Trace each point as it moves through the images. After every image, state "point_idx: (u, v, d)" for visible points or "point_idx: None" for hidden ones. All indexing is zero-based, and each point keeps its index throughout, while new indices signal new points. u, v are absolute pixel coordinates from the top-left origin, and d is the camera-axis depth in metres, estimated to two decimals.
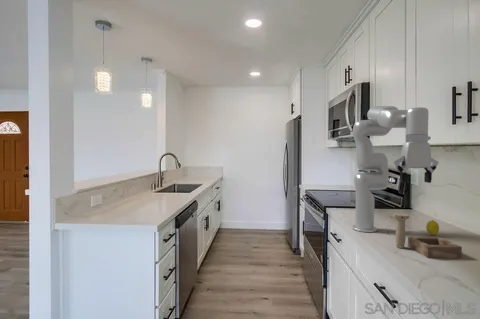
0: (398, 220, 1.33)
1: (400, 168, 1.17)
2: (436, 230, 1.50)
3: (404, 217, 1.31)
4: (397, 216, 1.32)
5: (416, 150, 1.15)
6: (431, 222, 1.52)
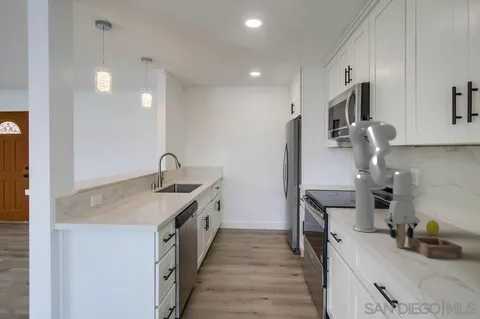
0: None
1: (390, 225, 1.33)
2: (436, 230, 1.50)
3: (404, 217, 1.31)
4: None
5: (402, 209, 1.31)
6: (431, 222, 1.52)
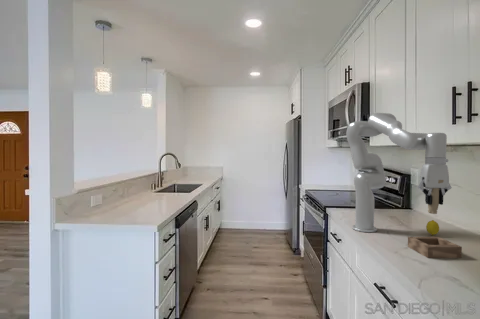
0: None
1: (426, 191, 1.27)
2: (436, 230, 1.50)
3: (439, 181, 1.25)
4: None
5: (435, 172, 1.25)
6: (431, 222, 1.52)
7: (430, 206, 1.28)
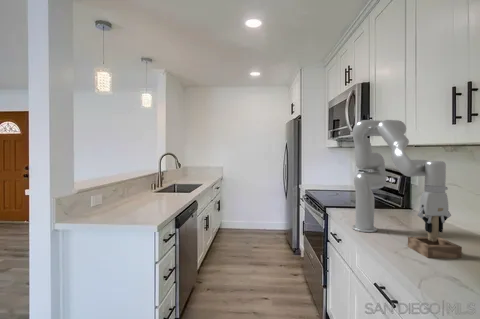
0: None
1: (425, 219, 1.27)
2: None
3: (439, 209, 1.25)
4: None
5: (435, 200, 1.25)
6: None
7: (430, 234, 1.28)
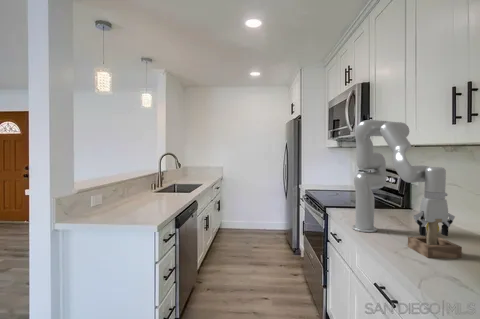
0: (430, 223, 1.27)
1: (419, 222, 1.27)
2: None
3: (437, 220, 1.25)
4: None
5: (435, 206, 1.25)
6: None
7: (429, 244, 1.28)
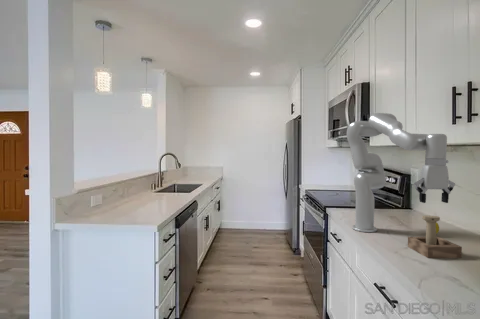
0: (428, 222, 1.29)
1: (420, 189, 1.27)
2: (436, 230, 1.50)
3: (435, 219, 1.27)
4: (427, 218, 1.28)
5: (435, 173, 1.25)
6: None
7: (428, 244, 1.29)
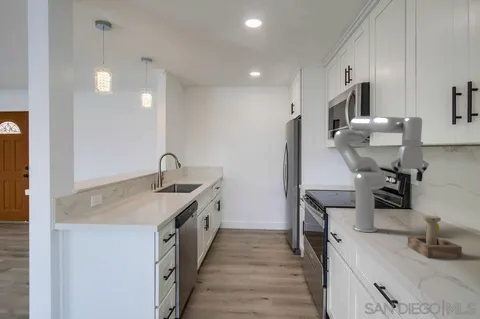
0: (429, 223, 1.28)
1: (396, 168, 1.37)
2: (436, 230, 1.50)
3: (435, 219, 1.27)
4: (428, 218, 1.28)
5: (410, 153, 1.35)
6: None
7: (428, 244, 1.28)
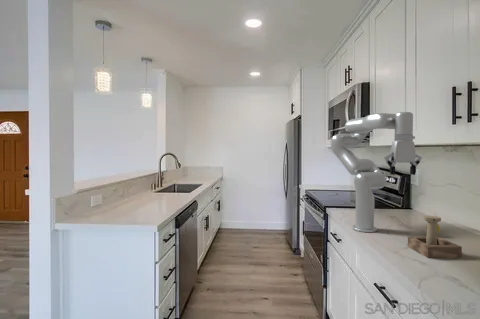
0: (429, 223, 1.28)
1: (389, 162, 1.40)
2: None
3: (436, 220, 1.26)
4: (428, 219, 1.27)
5: (403, 147, 1.38)
6: None
7: (429, 244, 1.28)
